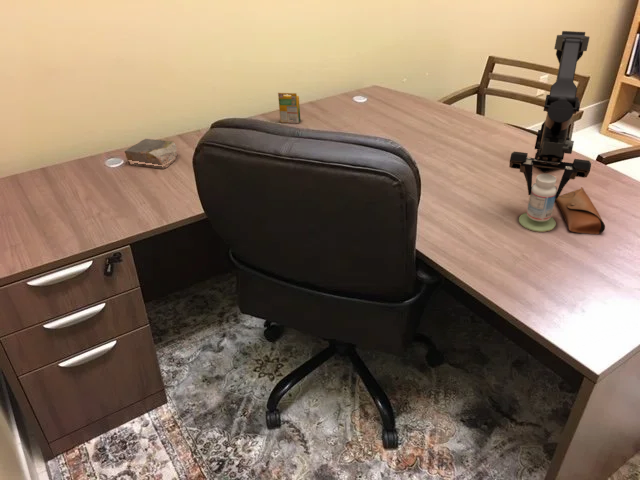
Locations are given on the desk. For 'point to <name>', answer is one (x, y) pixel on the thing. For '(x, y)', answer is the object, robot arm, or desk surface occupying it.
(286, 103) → the crayon box
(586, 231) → the sunglasses case
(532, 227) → the felt coaster
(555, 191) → the pill bottle
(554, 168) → the robot arm
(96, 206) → the desk surface
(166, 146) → the geological specimen
